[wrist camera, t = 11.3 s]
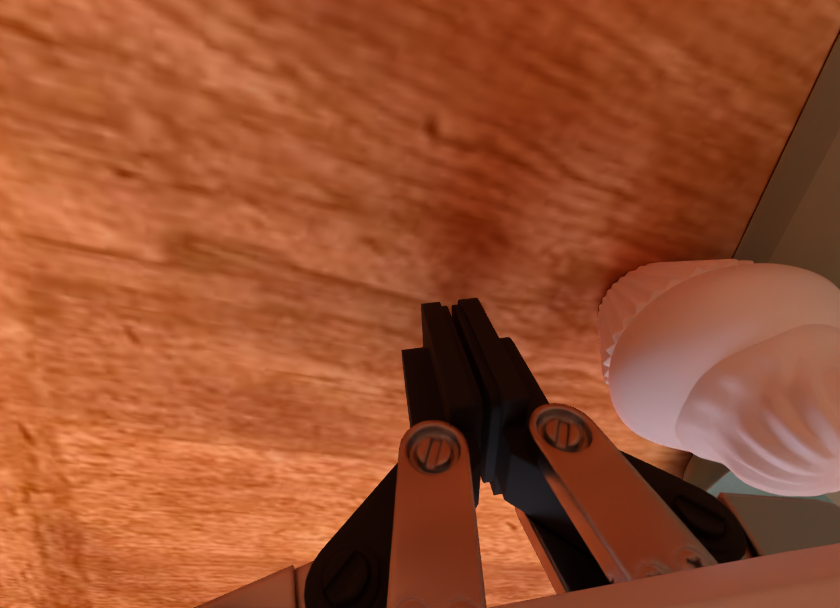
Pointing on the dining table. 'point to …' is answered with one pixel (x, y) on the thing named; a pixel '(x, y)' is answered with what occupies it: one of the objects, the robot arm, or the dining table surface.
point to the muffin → (730, 367)
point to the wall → (805, 192)
